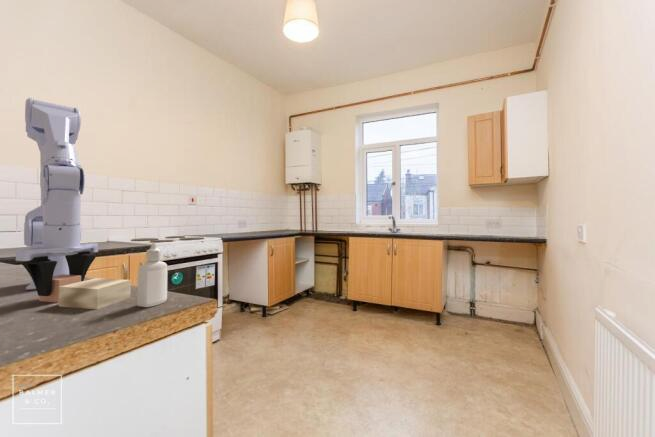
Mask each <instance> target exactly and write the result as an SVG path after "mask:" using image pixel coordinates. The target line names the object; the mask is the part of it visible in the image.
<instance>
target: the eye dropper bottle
mask: <svg viewBox="0 0 655 437" xmlns="http://www.w3.org/2000/svg"><path fill="white" fill-rule="evenodd" d="M161 252H162V251H161V249H159V248H158V247H157V242H153V243H152V242H151V246H150V247H149V249H146V257H145V258H146V259H145V260H146V262H144V263H142V264H141V265H139V267H138V270H137V296H136V297H137V299H136V300H137V301H136V304H137V307H139V308H152V307H156V306H158V305H161V304H163V303H165V302H167V299H168V264H167V263H166V262H164V261H161V259H162V258H161Z"/></svg>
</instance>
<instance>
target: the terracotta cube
mask: <svg viewBox="0 0 655 437" xmlns="http://www.w3.org/2000/svg"><path fill="white" fill-rule="evenodd" d="M77 282H81V276H80V275H66V274H62V275H57V276H53V278H52V291H51V295H50V296H39V299H38V300H39V302H49V303H58V304H59V287H60V286H64V285H68V284H73V283H77Z"/></svg>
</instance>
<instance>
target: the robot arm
mask: <svg viewBox="0 0 655 437" xmlns="http://www.w3.org/2000/svg"><path fill="white" fill-rule="evenodd" d="M24 105H25V108H24V109H25V110H24V111H25V112H24V114H25V115H24V122H25V132H26V135H27V138H29V139H31V140H32V141H33V142H34V141H35V142H36V144H37V147H38V150H39V156H40V177H39V186H40V187H39V188H40V206H37V207H35V208H33V209H32V210H29V211H28V212H27V213H26V214H25V216H24V217H25V218H24V224H23V244H24V246H26V247H27V248H25V249H17V250H15V261H16V262H21V265H22V266H23V267H24V269H25V270H26V271H27V273H28V274H29V276H30V277H31V283H30V284H28V285H27V286H26V287H25V290H27V291H28V290H36V292H37V296H38V297H40V296H50V295H51V291H52V278H53V276H57V275H62V274H66V275H80V276H81V281H85V278H86V275H87V273H88V271H89V269H90V266H91V265H92V264H93V262H94V261H95V260H96V253H99V243H93V242H92V243H91V242H90V243H81V240H82V224H81V201H82V200H81V197H82V195H83V194H84V191H85V184H86V178H85V176H86V175H85V171H84V167H82V165H81V164H79V159H78V151H77V149H76V147H75V146H74V145H75V144H77V140H78V138H79V132H80V129H81V124H82V119H81V118H82V117H81V116H82V115H81V111H80V110H79V108H77V107H70V106H66V105H61V104H56V103H53V102H52V103H51V102H46V101H42V100H39V99H37V100H36V99H33V98H32V97H28V98H27V99H26V100H25V104H24Z"/></svg>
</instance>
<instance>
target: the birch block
mask: <svg viewBox="0 0 655 437" xmlns="http://www.w3.org/2000/svg"><path fill="white" fill-rule="evenodd" d="M131 287H132V280H131V279H121V278H119V279H117V278H104V277H103V278H101V277H95V278H92V279H87V280H86V279H85V280H84V281H81V282H77V283H73V284H68V285H64V286H60V287H59V303H58V307H62V308H63V307H64V308H65V307H66V308H75V309H76V308H77V309H89V310H91V309H92V310H99V309H101V308H104V307H107V306H110V305H114V304H117V303H119V302H122V301H124V300H128V299H130V298H131V297H132V296H131V290H132V289H131ZM127 298H128V299H127Z"/></svg>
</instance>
